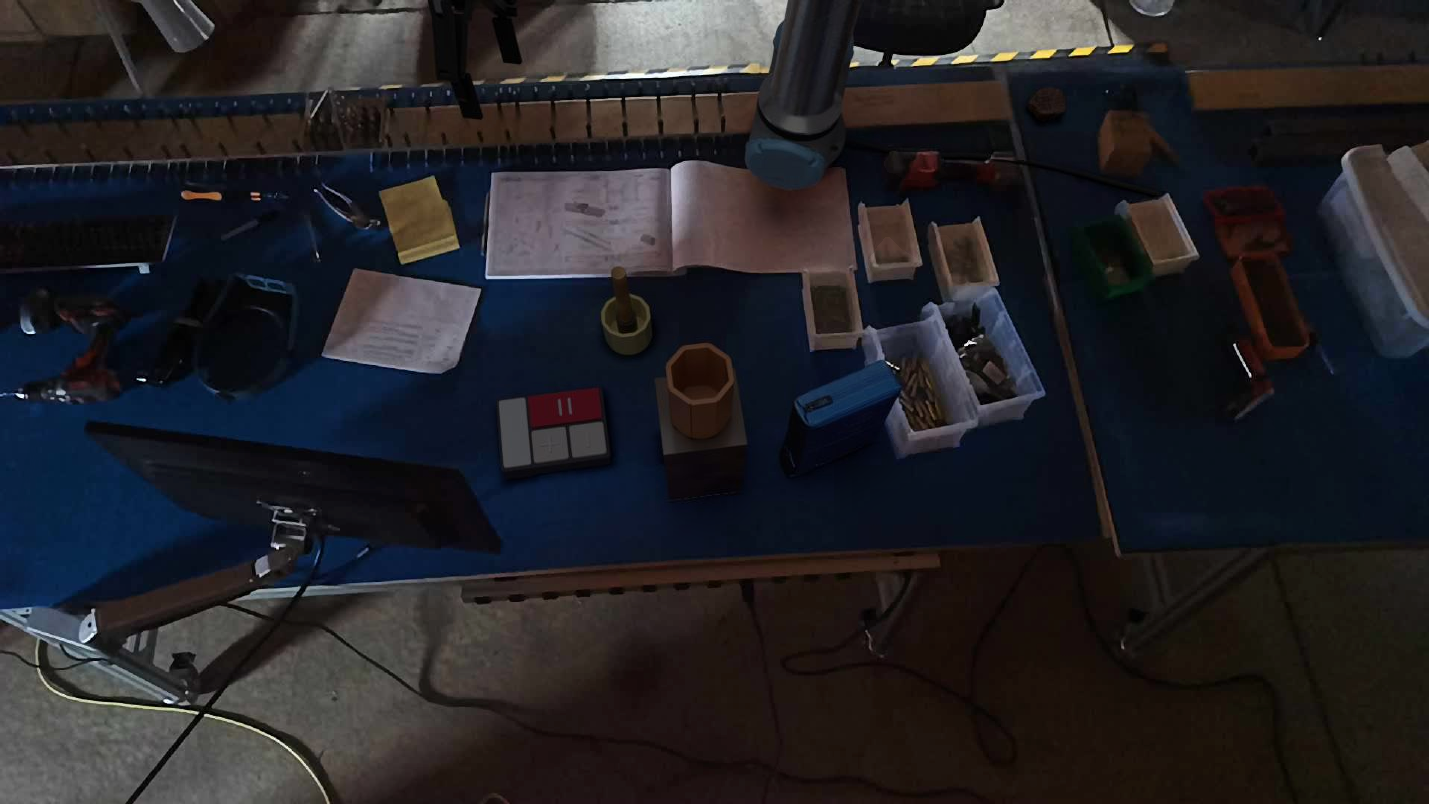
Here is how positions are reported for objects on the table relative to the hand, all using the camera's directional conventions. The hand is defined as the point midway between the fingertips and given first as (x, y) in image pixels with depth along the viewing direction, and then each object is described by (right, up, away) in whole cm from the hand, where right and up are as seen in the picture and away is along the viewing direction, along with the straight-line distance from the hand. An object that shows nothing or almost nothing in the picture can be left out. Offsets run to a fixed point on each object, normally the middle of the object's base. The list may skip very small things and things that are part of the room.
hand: (493, 89), depth 119 cm
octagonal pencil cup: (+29, -45, -18) cm, 57 cm away
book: (+47, -51, +2) cm, 69 cm away
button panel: (+8, -49, +2) cm, 50 cm away
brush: (+18, -34, +8) cm, 39 cm away
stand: (+29, -53, +1) cm, 60 cm away
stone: (+88, +6, +27) cm, 92 cm away
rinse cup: (+18, -34, +9) cm, 39 cm away
